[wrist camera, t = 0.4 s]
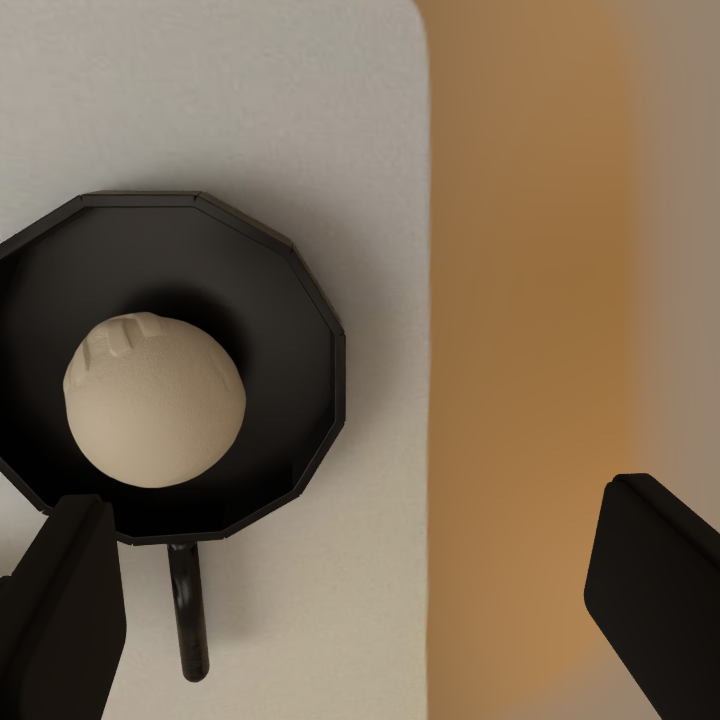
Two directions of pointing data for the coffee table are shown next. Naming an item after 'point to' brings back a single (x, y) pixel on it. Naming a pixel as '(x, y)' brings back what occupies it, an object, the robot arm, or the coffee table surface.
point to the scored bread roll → (152, 399)
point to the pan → (185, 303)
